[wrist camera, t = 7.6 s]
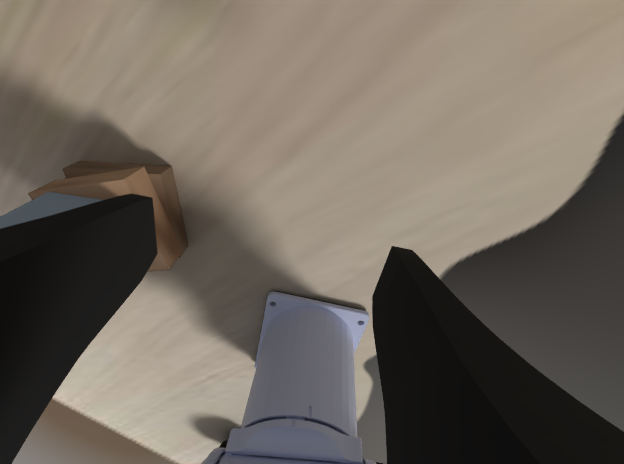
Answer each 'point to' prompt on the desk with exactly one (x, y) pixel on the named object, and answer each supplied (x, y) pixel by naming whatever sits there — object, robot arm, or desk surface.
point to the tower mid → (116, 186)
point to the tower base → (160, 180)
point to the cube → (44, 208)
